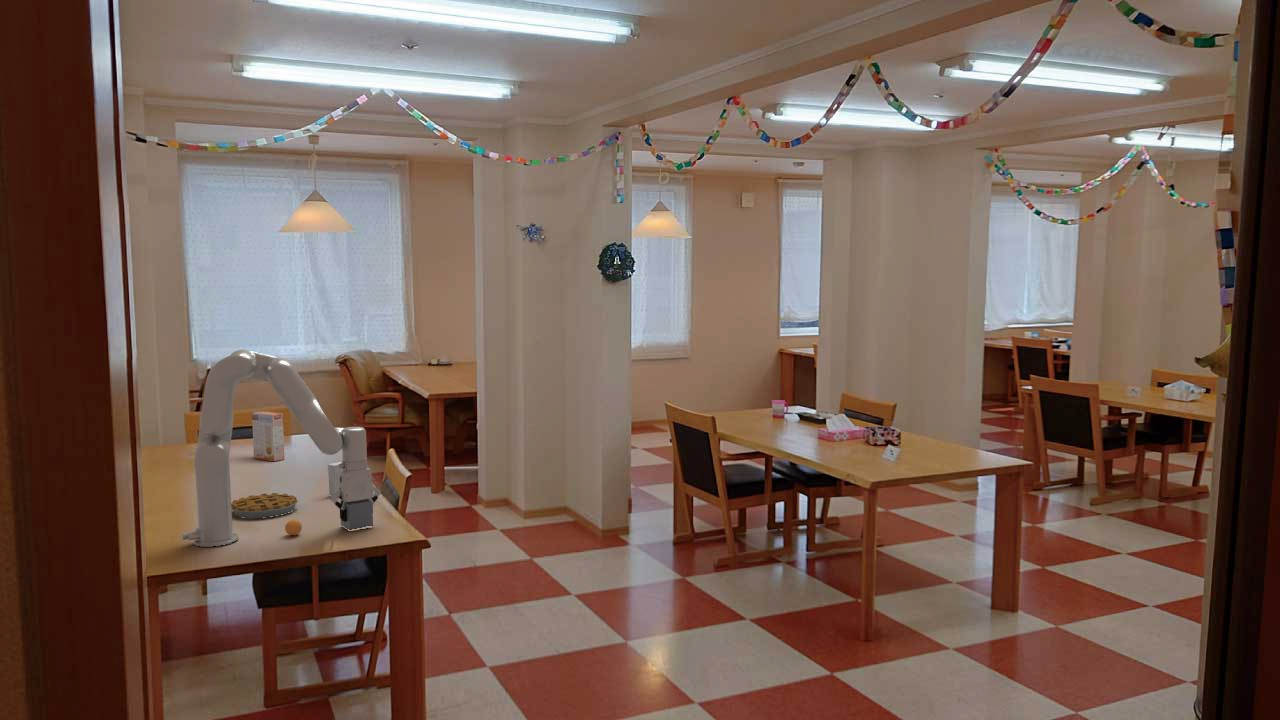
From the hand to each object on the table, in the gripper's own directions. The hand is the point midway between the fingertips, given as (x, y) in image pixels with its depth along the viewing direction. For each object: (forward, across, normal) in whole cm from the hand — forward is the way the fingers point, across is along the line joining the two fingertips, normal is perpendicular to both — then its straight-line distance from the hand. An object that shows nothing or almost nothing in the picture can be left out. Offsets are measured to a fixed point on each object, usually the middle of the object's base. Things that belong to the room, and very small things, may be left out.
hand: (356, 518), depth 307 cm
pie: (+4, -17, +40) cm, 44 cm away
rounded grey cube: (+3, 0, 0) cm, 3 cm away
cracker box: (+3, +13, +132) cm, 133 cm away
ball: (+1, -19, +4) cm, 19 cm away
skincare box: (+3, +12, +47) cm, 49 cm away
